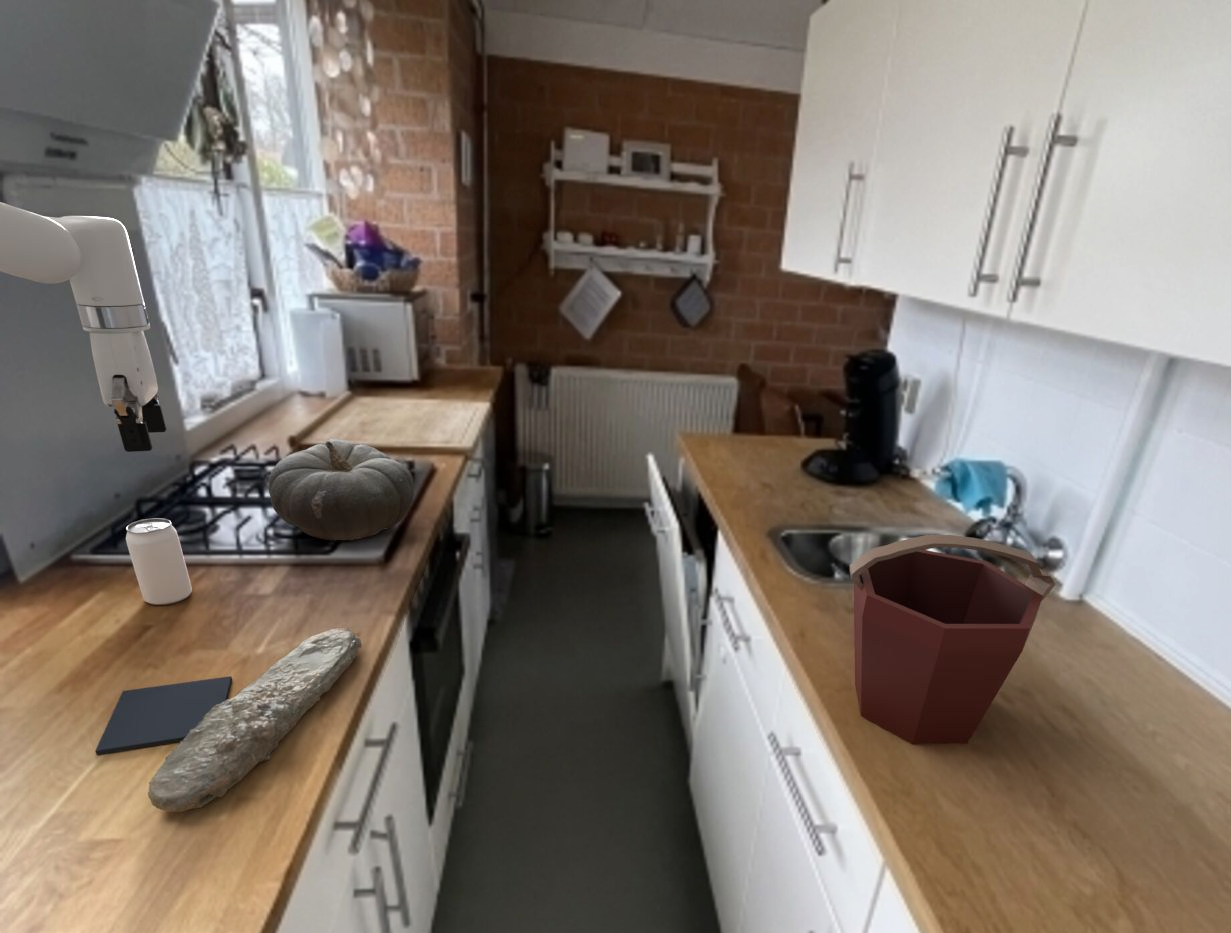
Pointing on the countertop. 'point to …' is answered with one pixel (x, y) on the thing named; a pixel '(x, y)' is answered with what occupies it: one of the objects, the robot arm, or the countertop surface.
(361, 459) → the gourd
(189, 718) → the mat
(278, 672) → the long grey stone
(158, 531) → the can
